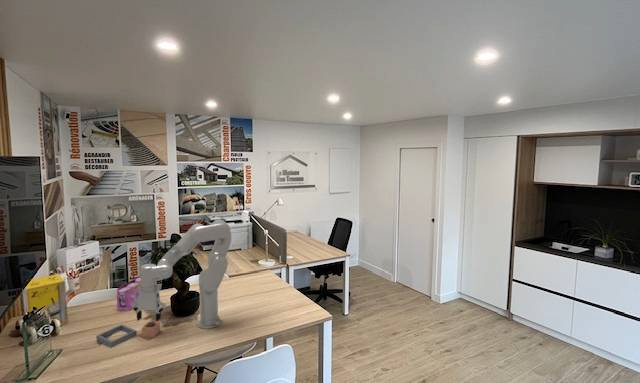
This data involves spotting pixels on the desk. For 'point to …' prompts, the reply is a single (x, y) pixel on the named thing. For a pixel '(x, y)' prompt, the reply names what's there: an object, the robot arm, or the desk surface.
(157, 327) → the ring
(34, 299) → the packaging box
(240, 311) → the desk surface
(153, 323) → the board
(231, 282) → the desk surface
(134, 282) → the gum box
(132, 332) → the tray
